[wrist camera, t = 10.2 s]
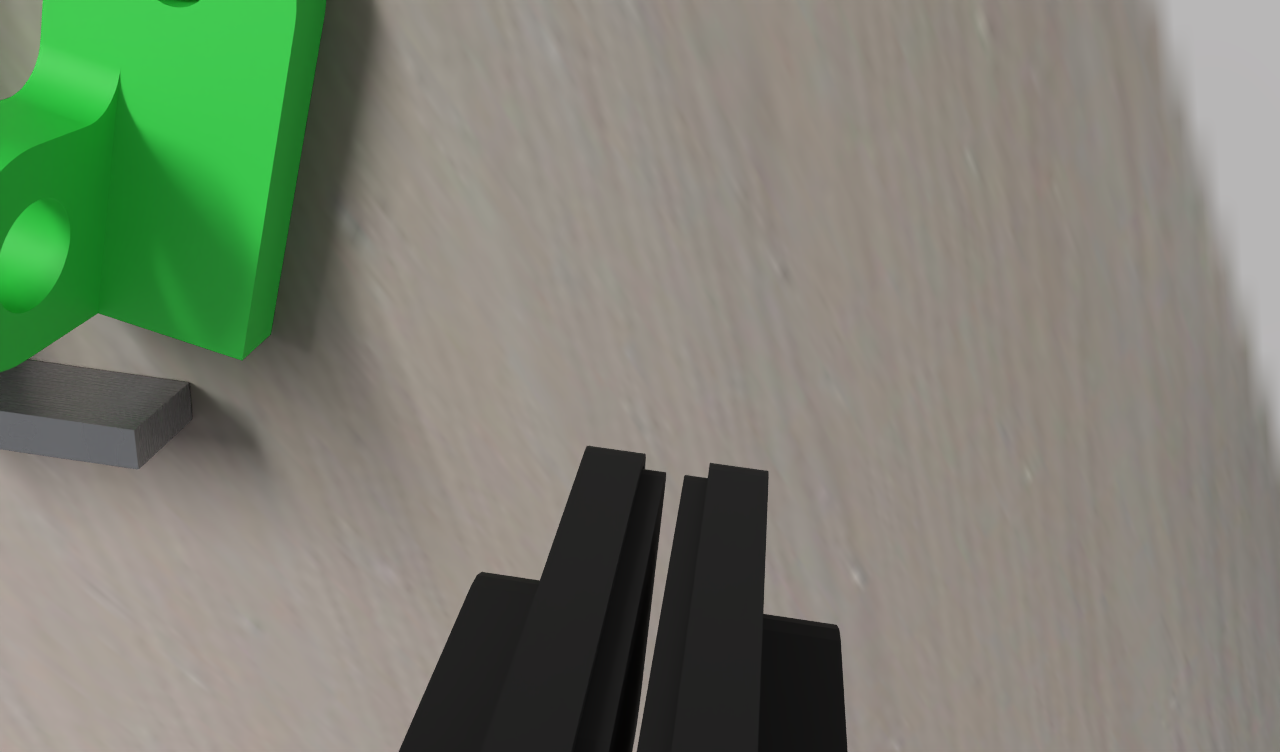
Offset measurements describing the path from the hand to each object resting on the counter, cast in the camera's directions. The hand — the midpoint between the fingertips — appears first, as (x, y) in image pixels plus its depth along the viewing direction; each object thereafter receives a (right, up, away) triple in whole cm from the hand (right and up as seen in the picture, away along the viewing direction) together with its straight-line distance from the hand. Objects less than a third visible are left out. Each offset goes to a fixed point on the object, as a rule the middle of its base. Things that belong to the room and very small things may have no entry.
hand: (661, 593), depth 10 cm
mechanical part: (-12, +9, +19) cm, 24 cm away
